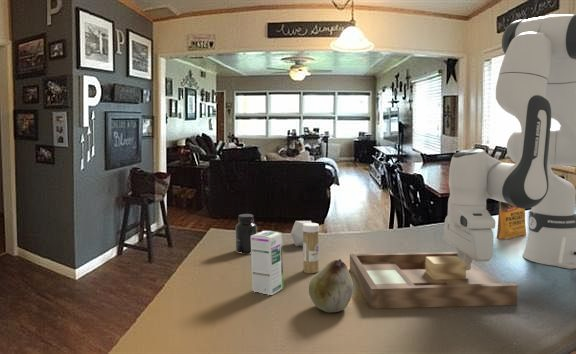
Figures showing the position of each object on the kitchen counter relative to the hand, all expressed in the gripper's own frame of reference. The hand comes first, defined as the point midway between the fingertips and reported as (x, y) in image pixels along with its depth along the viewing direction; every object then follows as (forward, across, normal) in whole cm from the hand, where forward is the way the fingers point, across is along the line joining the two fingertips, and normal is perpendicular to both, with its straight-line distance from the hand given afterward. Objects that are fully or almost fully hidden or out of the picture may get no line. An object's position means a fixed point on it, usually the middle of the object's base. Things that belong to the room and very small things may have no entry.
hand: (464, 268), depth 114 cm
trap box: (+4, 0, -10) cm, 11 cm away
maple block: (+2, 0, -5) cm, 5 cm away
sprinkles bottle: (+4, -13, -38) cm, 40 cm away
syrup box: (+4, +1, -50) cm, 50 cm away
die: (+4, -41, -38) cm, 56 cm away
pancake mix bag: (+4, -48, +38) cm, 61 cm away
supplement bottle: (+4, -34, -57) cm, 66 cm away
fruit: (+4, +13, -36) cm, 38 cm away
